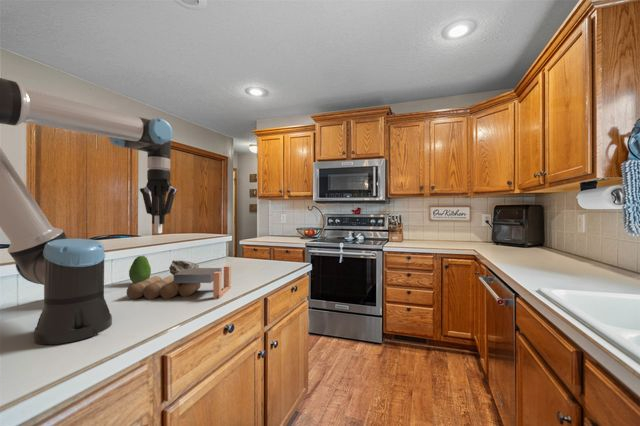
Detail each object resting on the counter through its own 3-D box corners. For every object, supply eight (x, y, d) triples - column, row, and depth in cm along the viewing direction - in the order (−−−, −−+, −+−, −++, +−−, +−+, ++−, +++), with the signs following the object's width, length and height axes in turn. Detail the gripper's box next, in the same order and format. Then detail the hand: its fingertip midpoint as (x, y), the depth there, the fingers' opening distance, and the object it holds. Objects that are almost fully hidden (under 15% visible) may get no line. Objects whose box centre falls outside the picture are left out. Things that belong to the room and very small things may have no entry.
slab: (210, 282, 100) (210, 274, 100) (173, 283, 100) (173, 274, 100) (221, 275, 112) (221, 267, 112) (188, 275, 112) (188, 268, 112)
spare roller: (185, 281, 102) (176, 290, 102) (194, 290, 102) (184, 299, 102) (195, 276, 110) (186, 284, 110) (203, 285, 110) (194, 293, 110)
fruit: (154, 281, 123) (154, 254, 123) (144, 286, 116) (144, 257, 116) (135, 282, 123) (135, 254, 123) (124, 286, 115) (124, 257, 115)
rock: (188, 286, 117) (188, 261, 117) (164, 286, 116) (164, 262, 116) (202, 276, 135) (202, 255, 135) (181, 276, 134) (181, 255, 134)
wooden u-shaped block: (219, 298, 99) (219, 273, 99) (213, 298, 99) (213, 273, 99) (230, 288, 113) (230, 265, 113) (225, 288, 113) (225, 265, 113)
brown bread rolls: (174, 298, 99) (174, 284, 99) (126, 299, 98) (126, 284, 98) (191, 288, 113) (191, 275, 113) (149, 288, 112) (149, 276, 112)
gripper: (181, 171, 110) (180, 232, 109) (147, 171, 109) (146, 232, 109) (171, 168, 102) (170, 233, 102) (135, 168, 102) (134, 233, 101)
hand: (158, 233), depth 105 cm, fingers closed
